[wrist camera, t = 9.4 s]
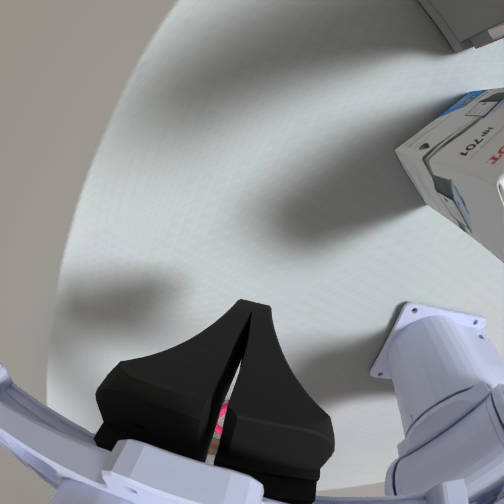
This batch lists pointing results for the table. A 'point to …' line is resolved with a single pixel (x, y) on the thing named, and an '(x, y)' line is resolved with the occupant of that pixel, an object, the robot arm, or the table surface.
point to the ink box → (463, 166)
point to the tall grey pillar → (467, 21)
